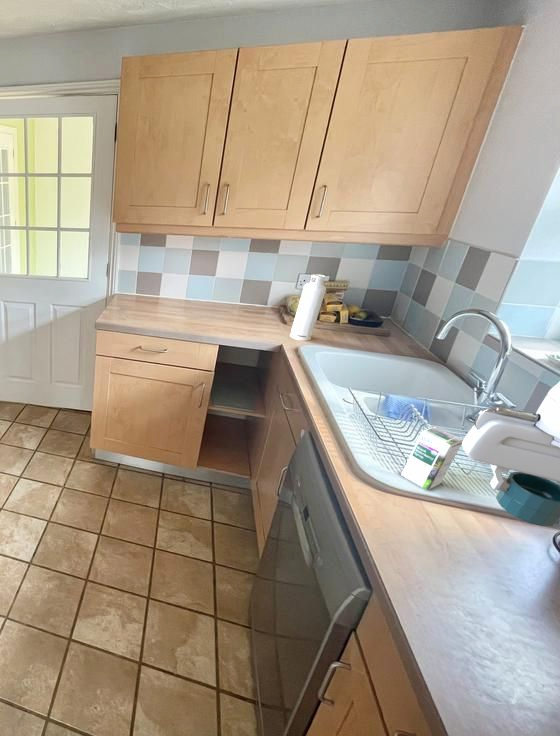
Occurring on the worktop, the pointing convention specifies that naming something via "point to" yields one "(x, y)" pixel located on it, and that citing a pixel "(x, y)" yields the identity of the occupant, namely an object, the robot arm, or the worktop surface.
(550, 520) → the bowl
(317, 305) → the bottle
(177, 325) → the worktop surface
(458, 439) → the syrup box
